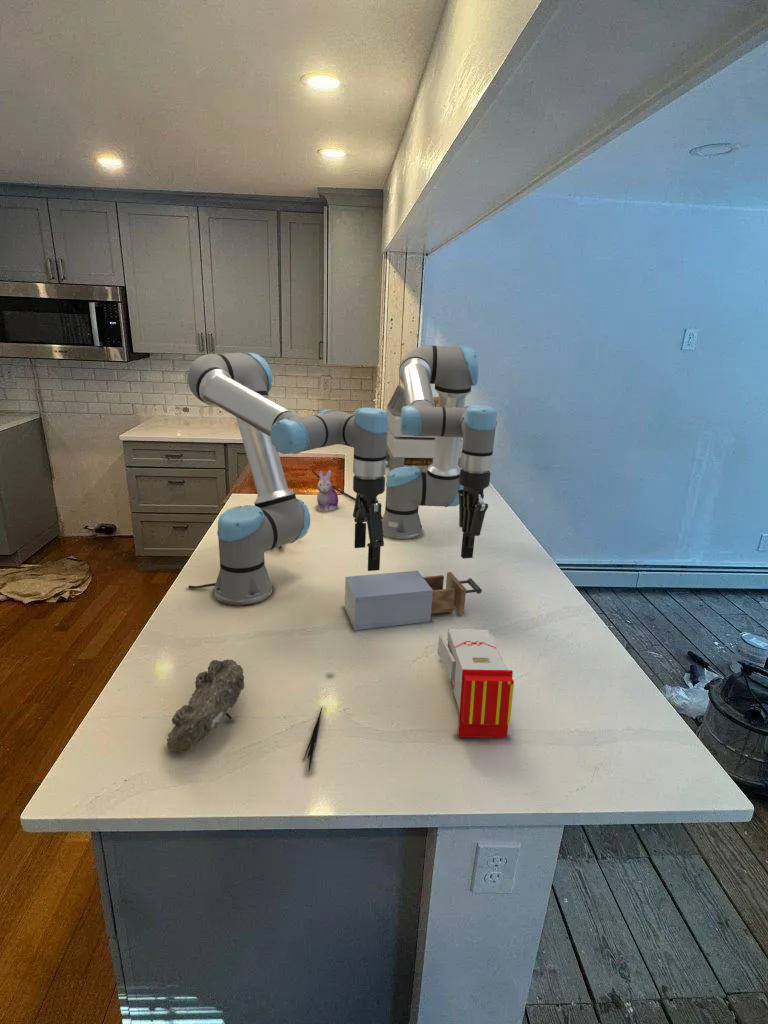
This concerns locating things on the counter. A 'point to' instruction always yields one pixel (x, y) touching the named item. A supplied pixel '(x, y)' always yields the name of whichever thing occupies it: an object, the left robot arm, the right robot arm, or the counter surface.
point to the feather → (313, 740)
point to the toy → (478, 682)
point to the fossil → (206, 705)
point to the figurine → (326, 493)
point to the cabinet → (387, 599)
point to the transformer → (407, 438)
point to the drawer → (449, 593)
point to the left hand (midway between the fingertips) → (366, 558)
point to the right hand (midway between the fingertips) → (466, 556)
